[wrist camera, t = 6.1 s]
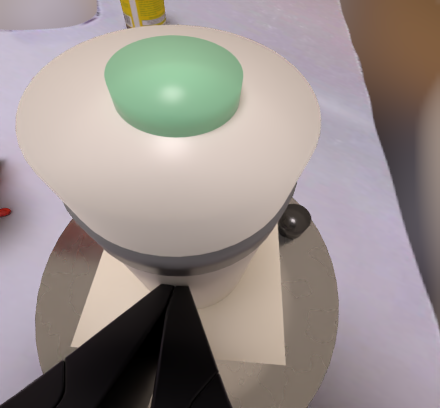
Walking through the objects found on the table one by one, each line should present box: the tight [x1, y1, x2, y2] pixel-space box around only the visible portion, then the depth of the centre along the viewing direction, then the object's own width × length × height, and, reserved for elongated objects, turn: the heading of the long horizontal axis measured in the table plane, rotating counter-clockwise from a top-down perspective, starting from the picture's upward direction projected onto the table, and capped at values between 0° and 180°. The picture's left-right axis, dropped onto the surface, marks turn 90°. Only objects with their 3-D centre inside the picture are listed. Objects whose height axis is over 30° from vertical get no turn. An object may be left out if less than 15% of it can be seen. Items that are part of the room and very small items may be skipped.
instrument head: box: [16, 25, 321, 365], centre depth 10 cm, size 10×10×12 cm
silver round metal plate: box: [35, 198, 339, 408], centre depth 16 cm, size 20×20×3 cm
